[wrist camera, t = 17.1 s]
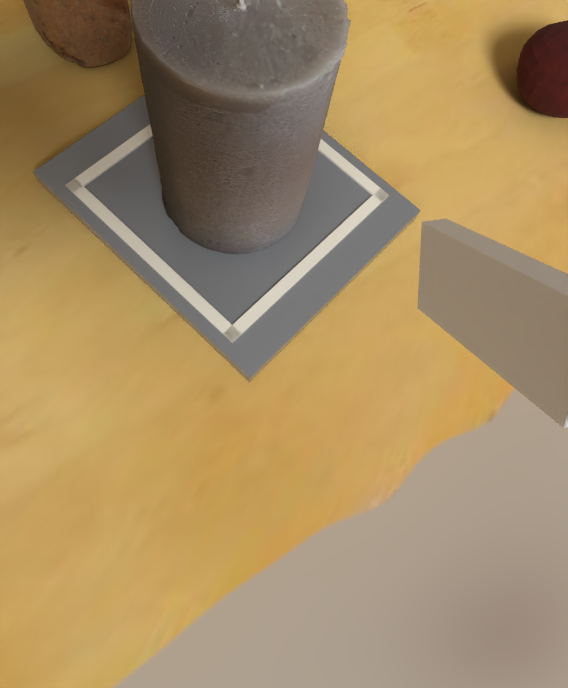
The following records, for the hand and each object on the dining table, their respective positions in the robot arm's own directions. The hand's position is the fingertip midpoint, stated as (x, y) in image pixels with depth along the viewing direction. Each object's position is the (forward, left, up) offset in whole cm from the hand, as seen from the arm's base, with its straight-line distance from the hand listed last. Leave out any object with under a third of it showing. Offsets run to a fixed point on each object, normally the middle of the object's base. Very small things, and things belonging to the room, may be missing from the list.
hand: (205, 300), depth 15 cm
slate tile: (-10, +12, -18) cm, 24 cm away
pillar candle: (-10, +12, -17) cm, 23 cm away
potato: (+1, +38, -18) cm, 42 cm away
